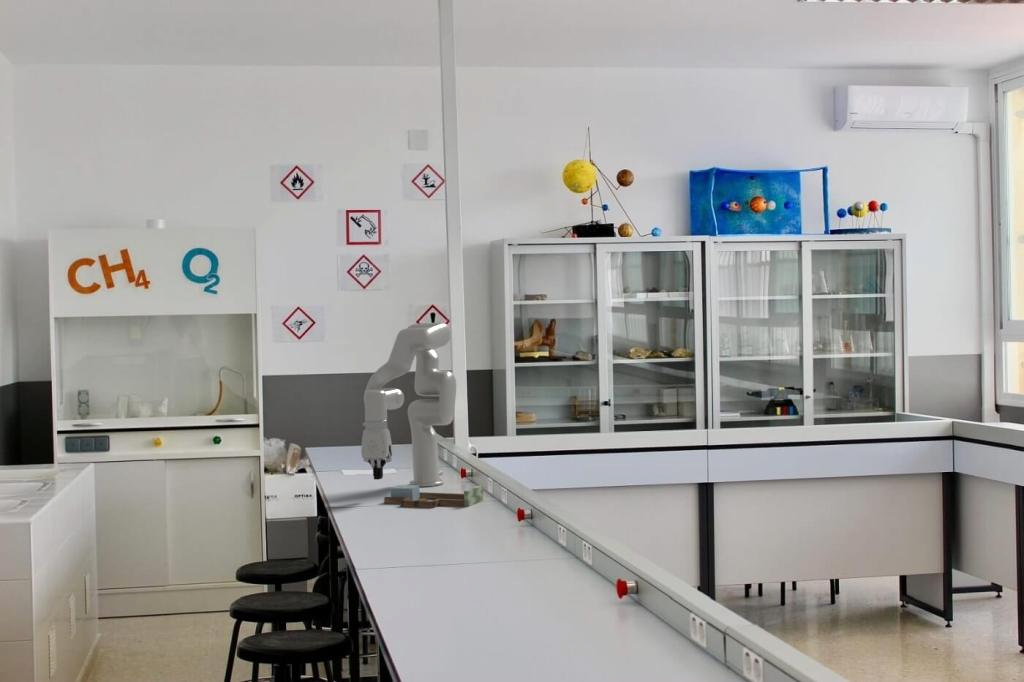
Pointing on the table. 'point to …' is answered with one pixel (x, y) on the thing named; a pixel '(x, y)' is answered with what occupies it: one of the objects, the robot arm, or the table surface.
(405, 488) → the slate block
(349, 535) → the table surface
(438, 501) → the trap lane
